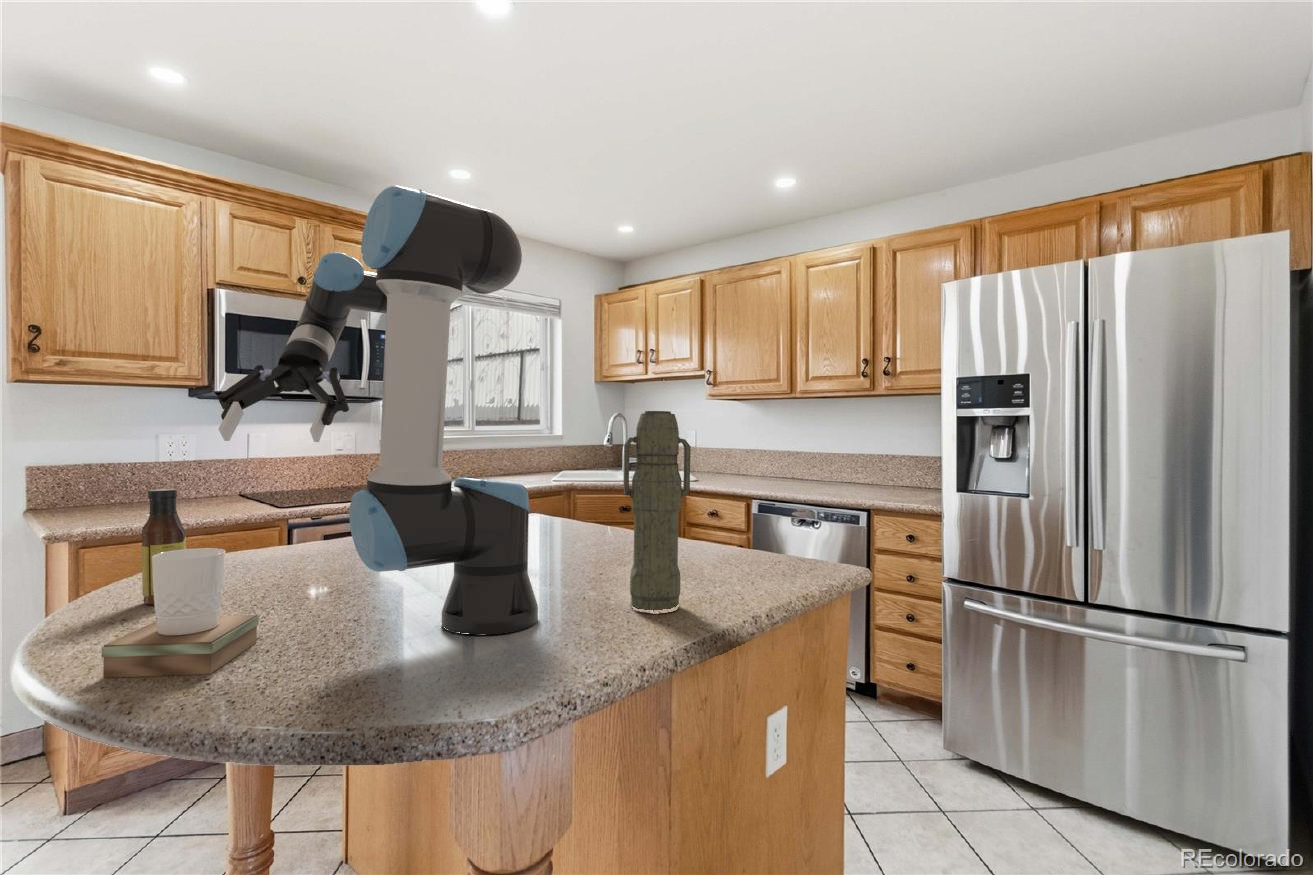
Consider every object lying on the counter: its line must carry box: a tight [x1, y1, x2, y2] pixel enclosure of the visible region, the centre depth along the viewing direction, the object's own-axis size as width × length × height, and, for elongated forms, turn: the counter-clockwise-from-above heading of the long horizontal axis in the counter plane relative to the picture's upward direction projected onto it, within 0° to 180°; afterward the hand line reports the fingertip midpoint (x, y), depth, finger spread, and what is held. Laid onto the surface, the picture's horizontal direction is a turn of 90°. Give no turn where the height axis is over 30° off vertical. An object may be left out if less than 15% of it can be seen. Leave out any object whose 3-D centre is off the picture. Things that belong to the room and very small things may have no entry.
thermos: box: [623, 410, 692, 611], centre depth 113 cm, size 9×12×35 cm
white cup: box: [152, 547, 227, 636], centre depth 84 cm, size 8×8×10 cm
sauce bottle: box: [141, 488, 187, 606], centre depth 112 cm, size 7×6×20 cm
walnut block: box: [101, 614, 260, 679], centre depth 84 cm, size 12×12×4 cm
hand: (269, 435), depth 103 cm, fingers open, 13 cm apart
